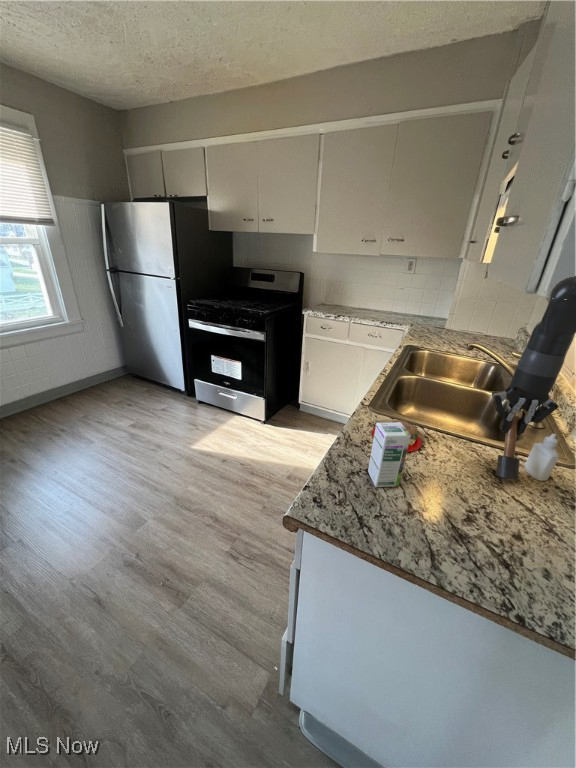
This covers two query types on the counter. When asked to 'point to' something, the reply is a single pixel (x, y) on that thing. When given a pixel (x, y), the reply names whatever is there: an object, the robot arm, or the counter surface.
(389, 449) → the syrup box
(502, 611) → the counter surface
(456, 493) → the counter surface
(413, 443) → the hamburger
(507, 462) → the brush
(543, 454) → the eye dropper bottle
